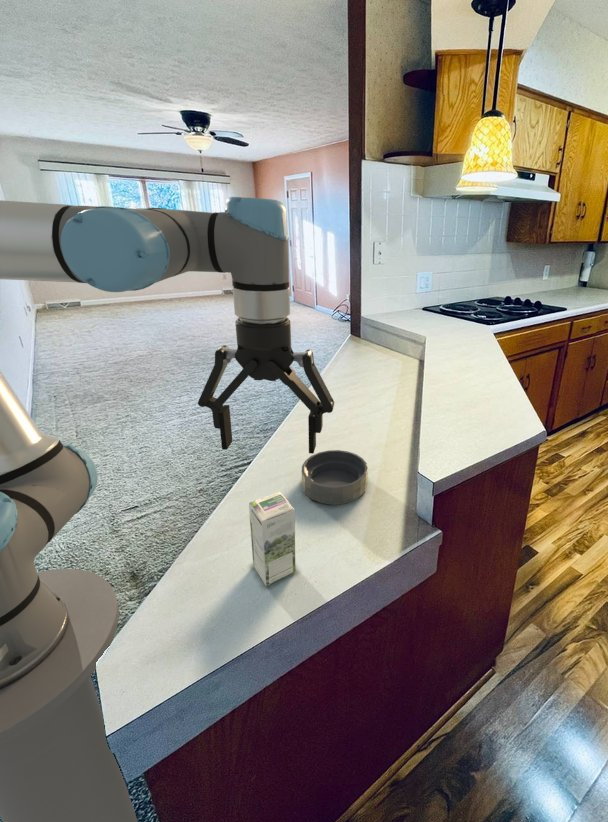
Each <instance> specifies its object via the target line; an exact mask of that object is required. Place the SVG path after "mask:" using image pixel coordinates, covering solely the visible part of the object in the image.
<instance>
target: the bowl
mask: <svg viewBox="0 0 608 822" xmlns="http://www.w3.org/2000/svg"><path fill="white" fill-rule="evenodd" d="M368 467H369V466H368V463H367V462H366V461H365V459H364V458H363V457H361V456H360V455H358V454H356V453H354V452H350V451H347V450H340V449H332V450H331V449H330V450H324V451H320V452H317V453H314V454H311V456H309V457H308V458H307V459H305V461H304V462H303V464H302V465H301V489H302V490H303V493H304V495H306V496H307V497H308V498H309V499H310V500H313V501H315V502H318V503H320V504H326V505H342V504H346V503H350V502H353V501H354V500H356V499H358V498H360V497H362V495H363V494H364V493H365V492H366V489H367V487H368V478H369V477H368V474H369V468H368Z"/></svg>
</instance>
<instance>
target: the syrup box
mask: <svg viewBox="0 0 608 822" xmlns="http://www.w3.org/2000/svg"><path fill="white" fill-rule="evenodd" d="M248 513H249V526H250V538H251V539H250V540H251V552H252V553H251V554H252V565H253V567H254V569H255V570H256V572H257V574H258V575H259V577H260V579H261V580H262V582H263V584H264V586H265V587H268V586H270V585H272V584H274V583H277V581H280V580H282V579H284V578H286V577H289V576H290V575H292V574H294V573H296V511H295V508H294V507H293V506H292V504H291V503H290V502H289V500H288V499H287V498H286V496H285V495H284V494H283V493H282V492H281V491H276V492H275V493H272V494H270V495H267V496H264V497H261V498H258V499H255V500H253V501H250V502H248Z"/></svg>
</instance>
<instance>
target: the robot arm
mask: <svg viewBox="0 0 608 822" xmlns="http://www.w3.org/2000/svg"><path fill="white" fill-rule="evenodd" d="M289 241H290V236H289V234H288V220H287V209H286V207H285V205H284V204H283V202H281V201H280V200H277V199H271V198H261V197H244V196H242V197H240V196H229V197H228V198H227V199H226V200H225V208H224V211H219V212H216V211H215V212H210V211H209V212H207V211H197V210H185V209H171V208H164V207H147V208H145V207H143V208H142V207H141V208H139V207H137V208H127V207H122V206H121V207H120V206H103V205H100V206H96V205H95V206H94V205H73V204H72V205H71V204H64V203H63V204H62V203H47V202H33V201H30V202H29V201H16V200H1V199H0V280H9V281H10V280H11V281H33V282H54V283H57V282H58V283H77V284H87V285H89V286H91V287H93V288H95V289H98V290H100V291H104V292H107V293H124V292H134V291H141V290H144V289H146V288H149V287H151V286H152V285H154V284H156V283H159V282H162V281H164V280H167V279H170V278H174V277H176V276H180V275H182V274H185V273H188V272H189V273H190V272H197V273H200V272H201V273H220V274H225V273H229V274H231V282H232V283H231V285H232V295H233V308H234V315H235V316H236V317H237V319H236V320H235V333H236V334H235V335H236V345H237V347H236V349H234V348H229V346H227V345H221V346H220V347H219V348H218V349H217V350H215V352H214V365H213V367H212V369H211V372H210V374H209V376H208V378H207V381H206V383H205V385H204V387H203V390H202V391H201V394H200V396H199V399H198V401H197V405H198V406H199V407H200V408H208V409H210V410H211V414H212V424H213V427H214V429H215V430H216V429H217V430H218V429H219V434H220V442H221V450H223V451H227V450H228V449H229V448H230V446H231V444H232V443H233V440H234V439H233V430H232V421H231V420H232V419H231V410H230V409H231V408H230V405H229V404H225V403H226V402H227V400H228V399H230V397H231V396H232V395H233V394H234V393H235V392H236V391H237V389H238V388H239V387H240V386H241V385H242V384H243V383H244V382H245V381H246V379H247V378H248V377H250V378H251V379H253V381H263V380H264V381H268V382H277V380H279V381H280V382H281V383H282V384H283V385H285V386H287V387H288V388H289V389H290V391H292V393H293V394H294V395H295V396H296V397H297V398H298V399H299V400H300V402H302V403H303V405H304V406H305V407H306V408H307V409H308V410H309V414H308V416H307V417H308V418H307V419H308V420H307V421H308V424H307V425H308V454H311V455H314V454H315V451H316V450H315V449H316V447H317V434H321V433H322V430H323V423H324V422H323V418H324V417H323V416H324V414H326V413H327V414H330V413H332V412H333V411H334V406H335V400H334V398H333V396H332V394H331V393H330V390H329V389H328V387H327V385H326V383H325V381H324V379H323V377H322V375H321V374H320V371H319V370H318V368H317V366H316V363H315V357H314V352H313V351H312V350H311V349H306V350H305V351H302V352H301V351H300V352H294V351H293V348H292V329H291V326H292V325H291V320H290V319H289V318H288V317H289V316H290V315H291V298H290V297H291V295H290V293H291V292H290V262H289V261H290V260H289V259H290V255H289V254H290V253H289V252H290V250H289V249H290V248H289V247H290V246H289V245H290V243H289ZM233 359H235V361H236V362H237V363H238V365H239V366H240V367H241V368H242V370H240V372H239V373H238V374H237V375H235V377H234V379H233V380H232V381H231V382H230V383H229V384H228V386H227V387H226V388H225V389H224V390H223V391H222V392H221V393H220V395H219V396H218V397H217V398H216V396H215V397H214V394H215V393H216V390H217V388H218V386H219V384H220V381H221V380H222V377H223V375H224V373H225V371H226V368H227V366H228V364H230V363H231V362H232V361H233ZM294 362H296V363H297V364H298V366H299V367H300V368H303V371H304V374H305V376H306V378H307V379H308V381H309V383H310V385H311V387H312V389H313V390H314V392H315V394H314V393H313V392H312V391H311V390H310V389H309V387H308V386H307V385H306V384H305V383H304V382H303V381H302V380H301V378H299V376H298V375H297V374H296V371H295V370H294V369H293V368H292V364H293V363H294ZM98 477H99V475H98V469H97V467H96V464H95V463H94V461H93V459H92V457H91V456H90V455H89V454H88V453H87V452H85V451H84V450H83V449H81V448H80V449H77V448H76V445H73V444H71V443H67V442H62V441H61V440H60V438H59V437H58V436H57V435H53V434H47V433H43V432H41V430H40V429H39V426H37V424H36V422H35V421H34V420H33V418H32V416H31V414H29V412H28V410H27V409H26V407H25V406H24V404H23V403H22V401H21V400H20V398H19V397H18V395H17V393H16V392H15V390H14V389H13V387H12V386H11V384H10V383H9V381H8V379H7V378H6V377H5V374H4V373H3V372H2V370H0V689H2V688H4V687H6V686H8V685H10V684H12V683H14V682H16V681H17V680H19V679H20V678H22V677H24V676H25V675H27V674H28V673H29V672H31V671H32V670H33V669H35V668H36V667H37V666H38V665H40V664H41V663H42V662H43V661H44V660H45V659H46V658H47V657H48V656H49V655H50V654H51V653H52V652H53V651H54V649H55V648H56V647H57V646H58V644H59V643H60V641H61V640H62V638H63V637H64V635H65V633H66V630H67V627H68V623H69V615H68V611H67V608H66V605H65V603H64V601H63V600H62V599H61V598H60V597H59V596H58V595H57V594H55V593H53V592H51V590H50V589H49V588H48V587H47V586H46V585H45V584H43V583H42V582H41V581H40V579H39V576H38V573H37V572H38V570H37V567H36V563H35V559H36V557H37V556H38V555H39V554H40V552H42V550H43V549H44V548H45V547H46V546H47V545H48V544H49V543H50V542H51V541H52V540H53V539H54V538H55V536H57V534H58V533H59V532H60V531H61V530H62V529H63V528H64V527H65V526H66V525H67V524H68V523H69V522H70V520H71V519H72V518H73V517H74V516H75V515H77V514H79V512H80V511H81V510H83V508H84V507H85V506H86V505H87V502H88V501H89V499H90V498H91V497H92V496H93V494H94V493H95V490H96V488H97V485H98V479H99V478H98Z"/></svg>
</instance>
